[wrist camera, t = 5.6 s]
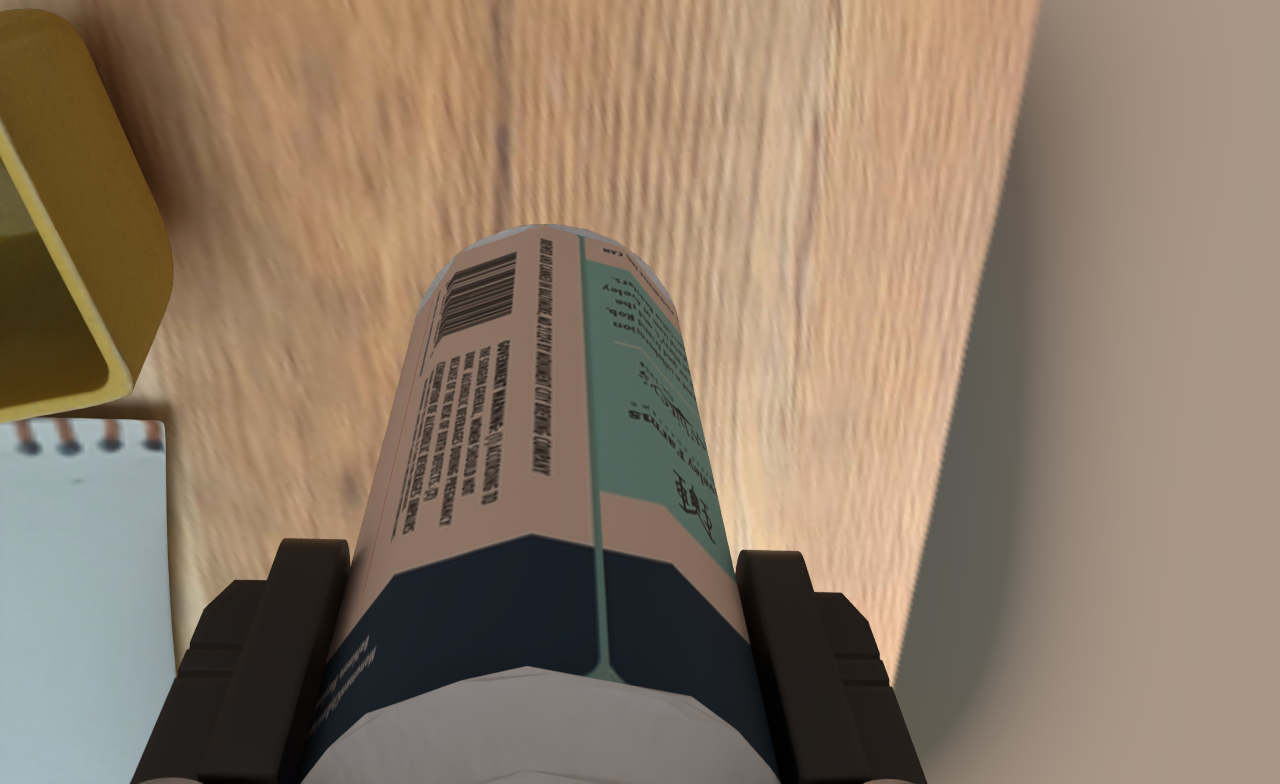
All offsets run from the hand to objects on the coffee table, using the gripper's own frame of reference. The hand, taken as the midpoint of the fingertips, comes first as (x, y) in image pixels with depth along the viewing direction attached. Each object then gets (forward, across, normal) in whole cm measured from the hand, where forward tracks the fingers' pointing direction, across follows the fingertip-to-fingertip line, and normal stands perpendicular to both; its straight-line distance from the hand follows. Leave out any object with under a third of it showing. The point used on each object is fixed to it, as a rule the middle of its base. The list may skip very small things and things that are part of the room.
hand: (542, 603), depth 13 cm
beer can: (+8, 0, 0) cm, 8 cm away
